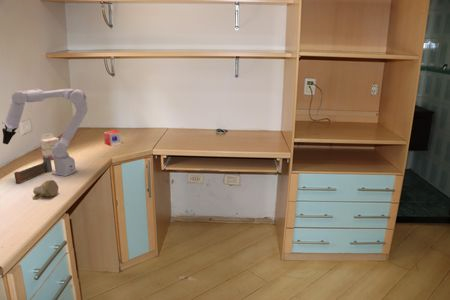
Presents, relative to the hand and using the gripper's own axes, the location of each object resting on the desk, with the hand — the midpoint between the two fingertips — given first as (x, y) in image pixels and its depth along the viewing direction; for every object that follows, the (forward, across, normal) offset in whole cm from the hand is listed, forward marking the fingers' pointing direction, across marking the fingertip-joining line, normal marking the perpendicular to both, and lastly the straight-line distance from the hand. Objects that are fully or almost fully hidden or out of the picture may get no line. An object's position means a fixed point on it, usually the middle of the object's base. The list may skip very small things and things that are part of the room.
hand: (6, 141), depth 174 cm
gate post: (+11, -2, +22) cm, 25 cm away
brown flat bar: (+13, +5, +15) cm, 21 cm away
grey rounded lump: (+10, +32, +21) cm, 39 cm away
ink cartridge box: (+12, -25, +24) cm, 36 cm away
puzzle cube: (-2, -42, +58) cm, 71 cm away
